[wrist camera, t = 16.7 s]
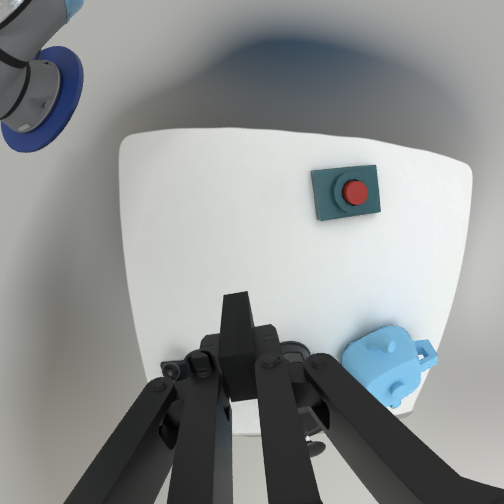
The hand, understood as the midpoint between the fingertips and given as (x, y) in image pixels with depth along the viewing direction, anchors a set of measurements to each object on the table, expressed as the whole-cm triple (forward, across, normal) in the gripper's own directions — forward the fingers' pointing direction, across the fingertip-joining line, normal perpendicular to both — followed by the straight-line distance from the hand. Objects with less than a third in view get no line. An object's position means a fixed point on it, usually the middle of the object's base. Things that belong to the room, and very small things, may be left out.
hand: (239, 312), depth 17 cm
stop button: (+26, +19, +3) cm, 32 cm away
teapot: (+29, +22, -29) cm, 47 cm away
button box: (+29, +19, +3) cm, 35 cm away
